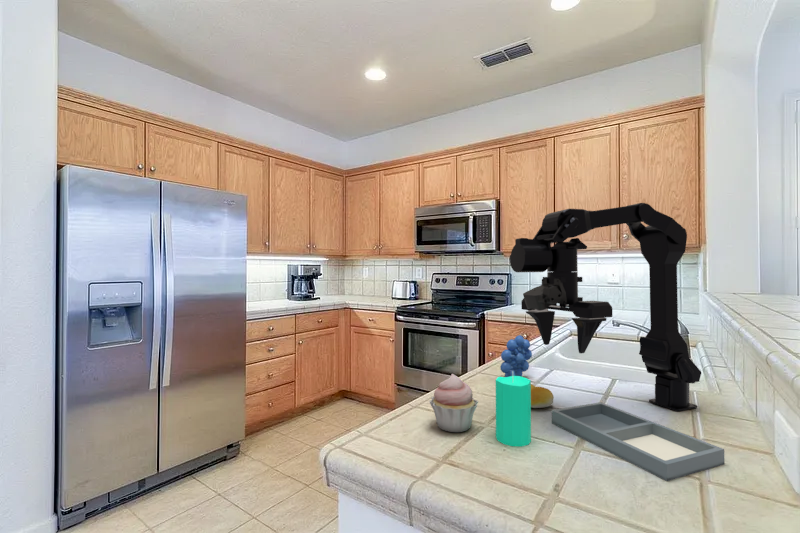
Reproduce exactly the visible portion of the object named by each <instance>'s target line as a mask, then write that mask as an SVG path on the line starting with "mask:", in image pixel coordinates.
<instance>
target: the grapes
mask: <svg viewBox="0 0 800 533" xmlns="http://www.w3.org/2000/svg"><path fill="white" fill-rule="evenodd" d="M505 346H506V349H504V350H502V352H501V354H500V357H501V360H502V361H503V362H502V363H501V364H500V367H499V368H500V371H501V372H502V373H503V374H504V377H509V376H512V371H513V376H522V377H523V372H524V373H525V372H526V371H528V369H530V363H529V360H530V359H532V356H533V352H532V351H531V349H529V348H530V347H531V343H530V341H529V339H527V338H526V339H524V336H522V335H521V334H519V335H516V336H515V338H514V339H509V340H508V341H507V342H506V345H505Z"/></svg>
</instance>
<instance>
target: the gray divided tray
mask: <svg viewBox="0 0 800 533" xmlns="http://www.w3.org/2000/svg"><path fill="white" fill-rule="evenodd" d="M551 424H553V425H555V426H556V427H559V428H560V429H562V430H565V431H566V432H569V433H570V434H572V435H575V436H576V437H578V438H580V439H582V440H584V441H586V442H587V443H589V444H591V445H594V446H595V447H598V448H600V449H602V450H604V451H605V452H608V453H610V454H612V455H614V456H615V457H618V458H620V459H621V460H624V461H626V462H628V463H629V464H632V465H633V466H635V467H638V468H640V469H641V470H644V471H646V472H648V473H649V474H651V475H653V476H655V477H658V478H659V479H661V480H664V481H665V482H670V481H673V480H677V479H680V478H683V477H686V476H690V475H693V474H696V473H701V472H703V471H706V470H709V469H714V468H716V467H720V466H724V465H725V448H722V447H720V446H717V445H715V444H712V443H709V442H707V441H705V440H701V439H698V438H696V437H693V436H691V435H688V434H685V433H683V432H681V431H678V430H675V429H673V428H670V427H667V426H665V425H661V424H659V423H656V422H655V421H651V420H649V419H646V418H643V417H641V416H638V415H635V414H633V413H630V412H629V411H628V412H627V411H625V410H623V409H620V408H617V407H614V406H613V405H609V404H606V403H604V402H600V401H599V402H593V403H587V404H582V405H581V404H580V405H575V406H569V407H564V408H558V409H552V410H551Z"/></svg>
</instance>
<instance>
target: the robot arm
mask: <svg viewBox="0 0 800 533" xmlns="http://www.w3.org/2000/svg"><path fill="white" fill-rule="evenodd" d="M642 222H643V223H644V224H645V225H646V226H645V225H644V224H643V223H642ZM622 224H625V225H626V226H628V229H629V232H630V235H631V236H632V237H634V239H635V240H636V241H638V242H639V247H640V252H641V254H642V256H643V258H644V259H645V261H646V262H647V263H648V267H649V268H648V269H649V310H650V311H649V312H650V314H649V316H650V317H649V318H650V321H649V322H650V329H649V331H648V332H647V333H646V335H645V336H640V338H639V346H640V347H639V353H638V354H639V355H641V361H642V362H643V363H644V366H645V369H646V372H647V373H649V374H652V375H656V376H655V383H654V398H650V399H648V402H649V403H651V404H654V405H657V406H659V407H660V406H661V407H663V408H667V409H669V410H672V411H674V412H675V411H676V412H681V411H687V410H692V409H697V408H698V405H697V404H696V403H695V404H694V403H691V402H690V384H695V383H698V382H700V379H701V376H702V370H700V369H699V368H698V366H697V365H696V364H695V363H694V362H693V360H692V359H691V358H690V354H689V348H688V345H687V342H686V341H685V339H684V338H683V337H682V335H681V332H680V331H679V316H678V313H679V312H678V311H679V310H678V308H679V306H678V263H679V262H680V261H681V259H682V257H683V256H684V255H685V252H686V248H687V240H688V234H687V230H686V228H684V227H683V226H682V225H681V224H680V223H678V222H677V221H676V220H675V219H674V218H673V217H671V216H668V215H667V214H665V213H662V212H660V211H658V210H655V209H654V207H653V206H651V205H650V204H649V203H645V202H639V203H634V204H633V203H632V204H628V205H626V206H624V205H623V206H619V207H613V208H612V207H611V208H605V209H598V210H587V209H583V208H566V209H562V210H557V211H553V212H550V213H547V214H546V215H545V216H544V218H543V219H542V222H541V226H540V228H538V229H539V230H538V231H537V232H536V233H535V235H534V237H533V238H528V237H521V238H520V237H519V238H515V245H514V246H513V247H512V249H511V251H510V254H509V264H510V266H511V269H512V270H513V271H514V272H515V273H543V272H546V271H547V272H546V276H543V277H542V279H541V285H537V286H536V287H534V288H531V289H529V290H527V291H525V292H524V293H523V294H522V295H523V298H522V300H521V310H522V311H523V310H524V311H525V314H526V315H529V316H530V317H531V318H533V320H534V321H535V324H536V326H537V328H538V330H539V334H540V336H541V339H542V343H543V345H544V346H549V345H550V344H551V339H552V332H553V325H554V321H555V314H556V311H563V312H568V313H569V312H571V313H573V315H574V316H575V317H574V318H573V317H572V318H571V320H572V321H573V323H574V324H575V326H576V334H577V338H576V339H577V350H578V353H579V354H584V353H586V351H587V349H588V347H589V345H590V343H591V340H592V339H593V337H594V335H595V333H596V332H597V330H598V329H599V327H600V326H601V324H602V322H607V318H612V317H613V306H612V305H611V304H610V302H609V301H601V300H600V301H599V300H584V298H583V296H581V297H580V296H579V294H578V293H579V283H583V277H582V276H578V274H579V273H578V269H579V268H578V251H580V250H586V249H588V245H586V244H585V243H584V242H582V241H581V240H580V238H579V236H581V235H584V234H586V233H588V232H590V231H592V230H594V229H598V228H603V227H604V228H605V227H610V226H611V227H612V226H617V225H622ZM567 239H569V240H568V241H566V240H567ZM551 244H554V245H553V246H551ZM554 310H555V311H554Z"/></svg>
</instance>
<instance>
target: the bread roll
mask: <svg viewBox="0 0 800 533" xmlns="http://www.w3.org/2000/svg"><path fill="white" fill-rule="evenodd" d="M554 398H555V396H554V394H553V392H552V391H551V390H550V389H549V388H546V387H543V386H536V385H535V384H532V383H531V409H538V408H539V409H541V408H549V407H551V406H552V405H553V404H554Z"/></svg>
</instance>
